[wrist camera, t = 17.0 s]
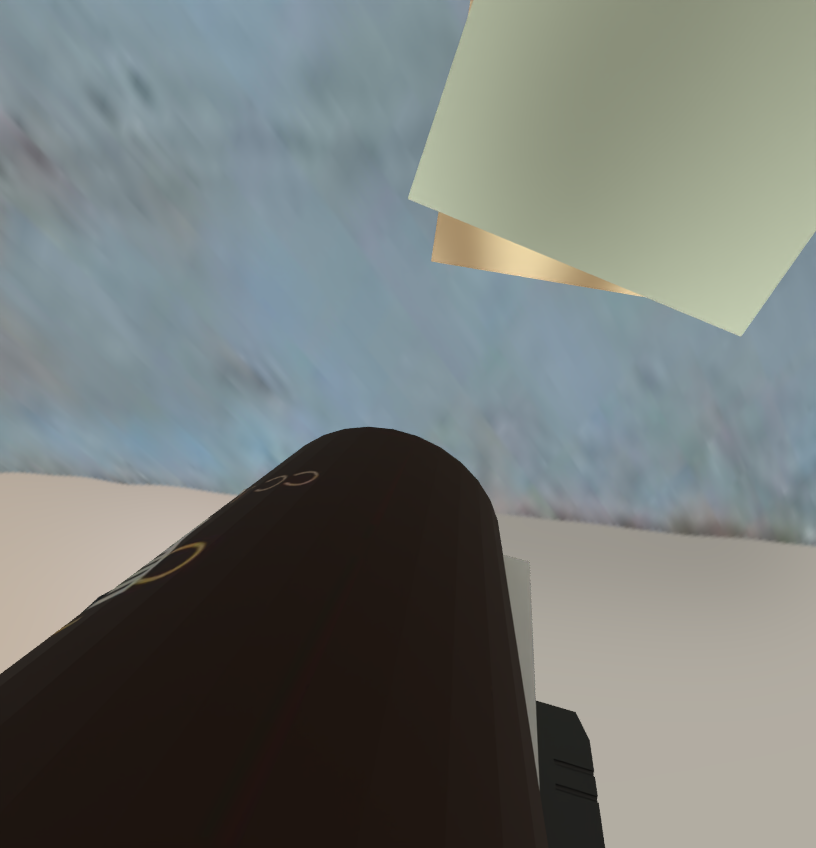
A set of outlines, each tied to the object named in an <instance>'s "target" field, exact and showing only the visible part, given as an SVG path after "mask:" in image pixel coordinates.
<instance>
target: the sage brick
mask: <svg viewBox="0 0 816 848" xmlns="http://www.w3.org/2000/svg"><path fill="white" fill-rule="evenodd" d="M408 199H409V200H412V201H414V202H417V203H419V204H422V205H424V206H426V207H429V208H431V209H434V210H436V211H438V212H441V213H443V214H446V215H448V216H451V217H453V218H455V219H458V220H460V221H463V222H465V223H468V224H470V225H472V226H475V227H477V228H480V229H482V230H484V231H487V232H489V233H492V234H494V235H497V236H499V237H501V238H504V239H506V240H509V241H511V242H513V243H516V244H518V245H521V246H523V247H526V248H528V249H530V250H533V251H535V252H538V253H540V254H543V255H545V256H547V257H550V258H552V259H555V260H557V261H559V262H562V263H564V264H567V265H569V266H572V267H574V268H576V269H579V270H581V271H584V272H586V273H588V274H591V275H593V276H596V277H598V278H601V279H603V280H605V281H608V282H610V283H613V284H615V285H618V286H620V287H622V288H625V289H627V290H630V291H632V292H634V293H637V294H639V295H642V296H644V297H647V298H649V299H651V300H654V301H656V302H659V303H661V304H663V305H666V306H668V307H671V308H673V309H676V310H678V311H680V312H683V313H685V314H688V315H690V316H693V317H695V318H697V319H700V320H702V321H705V322H707V323H709V324H712V325H714V326H717V327H719V328H722V329H724V330H726V331H729V332H731V333H734V334H736V335H739V336H742V334H743V333H744V332H745V330H746V329H747V327H748V326H749V324H750V323H751V322H752V320H753V319H754V317H755V316H756V315H757V313H758V312H759V310H760V309H761V307H762V306H763V305H764V303H765V302H766V300H767V299H768V298H769V296H770V295H771V293H772V292H773V290H774V289H775V288H776V286H777V285H778V283H779V282H780V281H781V279H782V278H783V276H784V275H785V273H786V272H787V271H788V269H789V268H790V266H791V265H792V264H793V262H794V261H795V259H796V258H797V256H798V255H799V254H800V252H801V251H802V249H803V248H804V246H805V245H806V244H807V242H808V241H809V239H810V238H811V237H812V235H813V234H814V232H815V231H816V0H473V3H472V6H471V9H470V12H469V15H468V18H467V21H466V24H465V27H464V30H463V33H462V36H461V39H460V42H459V45H458V48H457V51H456V54H455V57H454V60H453V63H452V67H451V70H450V73H449V76H448V79H447V82H446V85H445V88H444V91H443V94H442V97H441V100H440V103H439V106H438V109H437V112H436V115H435V118H434V121H433V124H432V127H431V130H430V133H429V136H428V139H427V142H426V145H425V148H424V151H423V154H422V157H421V160H420V163H419V166H418V169H417V172H416V175H415V178H414V182H413V185H412V188H411V191H410V194H409V197H408Z"/></svg>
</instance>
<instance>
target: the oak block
mask: <svg viewBox="0 0 816 848" xmlns="http://www.w3.org/2000/svg"><path fill="white" fill-rule="evenodd" d="M472 3H473V0H470V7H469V12H470V9H471V6H472ZM468 15H469V14H468ZM431 261H432V262H438V263H444V264H450V265H456V266H462V267H468V268H474V269H480V270H486V271H492V272H498V273H504V274H510V275H516V276H522V277H528V278H534V279H540V280H546V281H552V282H558V283H564V284H570V285H576V286H582V287H588V288H594V289H600V290H606V291H612V292H618V293H624V294H630V295H636V296H642V295H639V294H637V293H634V292H632V291H630V290H627V289H625V288H622V287H620V286H618V285H615V284H613V283H610V282H608V281H605V280H603V279H601V278H598V277H596V276H593V275H591V274H588V273H586V272H584V271H581V270H579V269H576V268H574V267H572V266H569V265H567V264H564V263H562V262H559V261H557V260H555V259H552V258H550V257H547V256H545V255H543V254H540V253H538V252H535V251H533V250H530V249H528V248H526V247H523V246H521V245H518V244H516V243H513V242H511V241H509V240H506V239H504V238H501V237H499V236H497V235H494V234H492V233H489V232H487V231H484V230H482V229H480V228H477V227H475V226H472V225H470V224H468V223H465V222H463V221H460V220H458V219H455V218H453V217H451V216H448V215H446V214H443V213H441V212H439V213H438V220H437V226H436V233H435V240H434V246H433V253H432V259H431ZM642 297H644V296H642Z"/></svg>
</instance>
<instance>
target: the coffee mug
mask: <svg viewBox="0 0 816 848" xmlns="http://www.w3.org/2000/svg"><path fill="white" fill-rule="evenodd" d="M0 848H548V841H547V835H546V828H545V822H544V815H543V809H542V803H541V796H540V790H539V783H538V777H537V770H536V764H535V758H534V751H533V745H532V738H531V732H530V725H529V719H528V713H527V706H526V700H525V693H524V687H523V681H522V674H521V668H520V661H519V655H518V648H517V642H516V636H515V629H514V623H513V616H512V610H511V603H510V597H509V591H508V584H507V578H506V571H505V565H504V558H503V553H502V546H501V540H500V533H499V526H498V520H497V517H496V515H495V512H494V509H493V506H492V504H491V501H490V499H489V497H488V496H487V494H486V493H485V491H484V489H483V488H482V486H481V485H480V483H479V481H478V480H477V479H476V478H475V477H474V476H473V475H472V474H471V473H470V471H469V470H468V469H467V468H466V467H465V466H464V465H463V464H462V463H461V462H460V461H458V460H457V459H456V458H454V457H453V456H452V455H450V454H449V453H447V452H446V451H445V450H443V449H442V448H440V447H438V446H436V445H434V444H432V443H430V442H428V441H426V440H424V439H422V438H420V437H418V436H415V435H411V434H408V433H404V432H401V431H397V430H394V429H385V428H375V427H361V428H349V429H343V430H340V431H336V432H333V433H329V434H326V435H323V436H321V437H319V438H318V439H316V440H314V441H312V442H310V443H308V444H307V445H305V446H304V447H302V448H301V449H300V450H298V451H297V452H296V453H294V454H293V455H292V456H290V457H289V458H288V459H286V460H285V461H284V462H282V463H281V464H280V465H278V466H277V467H276V468H274V469H273V470H272V471H270V472H269V473H268V474H266V475H265V476H264V477H262V478H261V479H260V480H258V481H257V482H256V483H254V484H253V485H252V486H250V487H249V488H248V489H246V490H245V491H244V492H242V493H241V494H240V495H238V496H237V497H236V498H234V499H233V500H232V501H230V502H229V503H228V504H227V505H225V506H224V507H222V508H221V509H220V510H219V511H217V512H216V513H214V514H213V515H212V516H210V517H209V518H208V519H206V520H205V521H204V522H202V523H201V524H200V525H198V526H197V527H196V528H194V529H193V530H192V531H191V532H189V533H188V534H186V535H185V536H184V537H182V538H181V539H180V540H179V541H177V542H176V543H175V544H173V545H172V546H170V547H169V548H168V549H167V550H165V551H164V552H162V553H161V554H160V555H159V556H157V557H156V558H154V559H153V560H152V561H151V562H149V563H148V564H146V565H145V566H144V567H142V568H141V569H140V570H138V571H137V572H136V573H134V574H133V575H132V576H130V577H129V578H128V579H127V580H125V581H124V582H122V583H121V584H120V585H118V586H117V587H116V588H115V589H113V590H112V591H110V592H109V593H108V594H106V595H105V596H104V597H102V598H101V599H100V600H98V601H97V602H96V603H94V604H93V605H92V606H90V607H89V608H88V609H86V610H85V611H84V612H82V613H81V614H80V615H78V616H77V617H76V618H74V619H73V620H72V621H71V622H69V623H68V624H67V625H65V626H64V627H62V628H61V629H60V630H58V631H57V632H56V633H55V634H53V635H52V636H51V637H49V638H48V639H47V640H45V641H44V642H43V643H41V644H40V645H39V646H37V647H36V648H35V649H33V650H32V651H31V652H29V653H28V654H27V655H25V656H24V657H23V658H21V659H20V660H19V661H17V662H16V663H15V664H13V665H12V666H11V667H9V668H8V669H7V670H5V671H4V672H3V673H1V674H0Z"/></svg>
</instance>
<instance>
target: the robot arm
mask: <svg viewBox="0 0 816 848" xmlns="http://www.w3.org/2000/svg"><path fill="white" fill-rule="evenodd" d="M245 490H246V489H244V490H243V491H242V492H244V491H245ZM242 492H241V493H242ZM241 493H240V494H241ZM240 494H239V495H240ZM503 558H504V565H505V571H506V578H507V584H508V591H509V597H510V603H511V610H512V616H513V623H514V629H515V636H516V642H517V648H518V655H519V661H520V668H521V674H522V681H523V687H524V693H525V700H526V706H527V713H528V719H529V725H530V732H531V738H532V745H533V751H534V758H535V764H536V770H537V777H538V783H539V790H540V796H541V803H542V809H543V815H544V822H545V828H546V835H547V841H548V848H605V844H604V837H603V830H602V823H601V816H600V809H599V803H597V796H598V795H597V788H596V781H595V777H594V776H593V772H594V768H593V761H592V754H591V747H590V740H589V738H588V736H587V735H586V732H585V730H584V729H583V726H582V724H581V722H580V720H579V718H578V716H577V714H576V712H573V711H570V710H566V709H563V708H559V707H556V706H552V705H549V704H546V703H542V702H539V701H536V698H535V674H534V654H533V653H534V652H533V632H532V631H533V630H532V608H531V583H530V562H529V561H524V560H521V559H517V558H513V557H509V556H505V555H503ZM111 591H112V590H111ZM109 592H110V591H109ZM109 592H107V593H105V594H104V595H102V596H100V597H98V598H97V599H96V600H95V601H94V602H93V603H92V604H91V605H90V606H92V605H93V604H94V603H96V602H97V601H98V600H100V599H101V598H102V597H104V596H105V595H106V594H108V593H109ZM90 606H89V607H90ZM89 607H87V608H86V609H88V608H89ZM86 609H85V610H86ZM85 610H84V611H85ZM84 611H83V612H84Z"/></svg>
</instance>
